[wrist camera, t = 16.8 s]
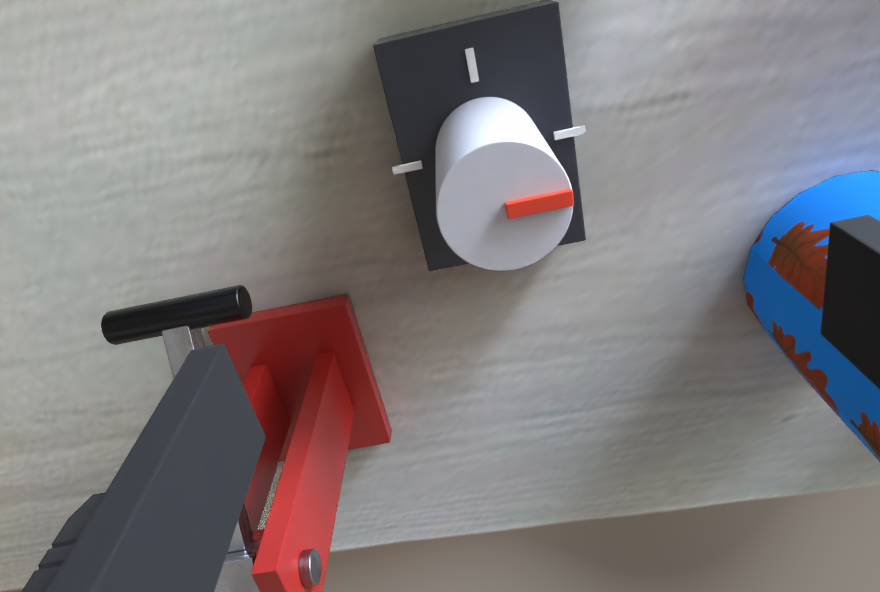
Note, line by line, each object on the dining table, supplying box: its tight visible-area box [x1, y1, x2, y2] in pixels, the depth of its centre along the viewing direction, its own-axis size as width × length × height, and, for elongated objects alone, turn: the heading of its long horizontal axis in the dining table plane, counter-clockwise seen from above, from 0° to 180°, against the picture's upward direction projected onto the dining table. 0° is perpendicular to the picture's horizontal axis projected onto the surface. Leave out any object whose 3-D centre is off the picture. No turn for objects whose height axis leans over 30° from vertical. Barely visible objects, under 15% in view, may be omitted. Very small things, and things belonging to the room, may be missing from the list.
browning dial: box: [435, 97, 574, 271], centre depth 25 cm, size 5×5×8 cm
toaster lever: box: [101, 285, 264, 592], centre depth 25 cm, size 13×6×2 cm, turn 12°
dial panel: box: [373, 0, 586, 271], centre depth 30 cm, size 11×9×3 cm
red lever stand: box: [208, 294, 391, 592], centre depth 31 cm, size 10×8×16 cm
